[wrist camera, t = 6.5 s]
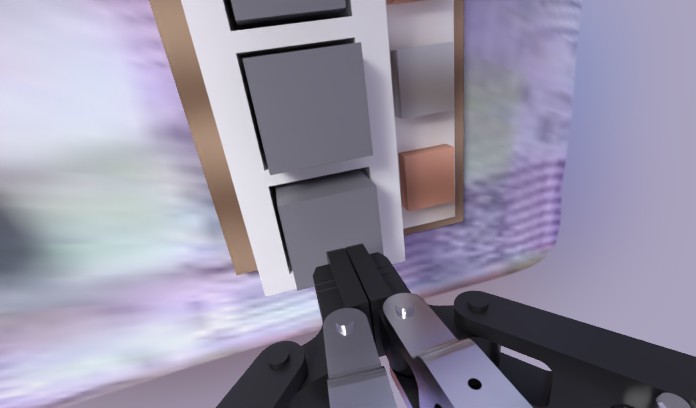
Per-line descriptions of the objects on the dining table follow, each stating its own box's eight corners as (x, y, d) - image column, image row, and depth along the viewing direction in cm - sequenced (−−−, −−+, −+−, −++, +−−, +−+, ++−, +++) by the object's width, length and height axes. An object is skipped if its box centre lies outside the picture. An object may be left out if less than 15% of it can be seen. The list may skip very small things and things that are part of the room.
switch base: (117, -118, 15) (92, -149, 12) (453, -136, 17) (479, -164, 15) (237, 267, 22) (234, 287, 20) (456, 215, 25) (473, 229, 23)
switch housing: (165, -111, 14) (131, -173, 11) (346, -121, 16) (371, -180, 12) (265, 258, 22) (265, 296, 18) (383, 231, 23) (405, 261, 19)
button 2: (247, 61, 16) (242, 58, 12) (339, 48, 16) (361, 42, 13) (269, 153, 17) (270, 175, 14) (351, 138, 18) (373, 155, 14)
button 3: (274, 179, 18) (277, 206, 14) (354, 163, 18) (376, 185, 15) (291, 249, 20) (297, 290, 16) (363, 233, 20) (385, 268, 17)
